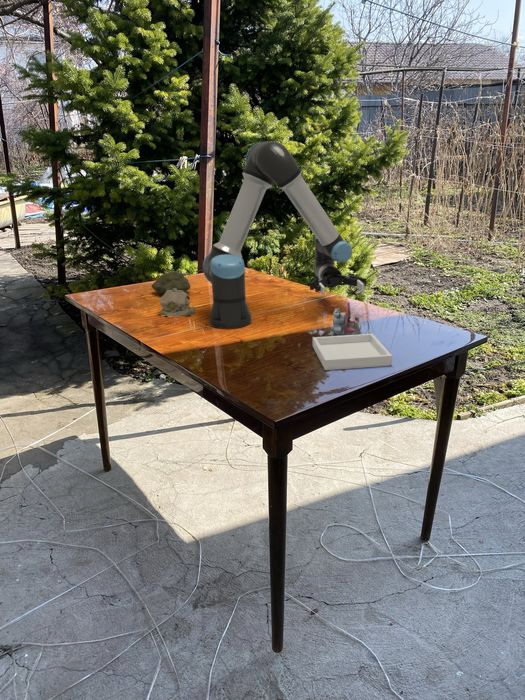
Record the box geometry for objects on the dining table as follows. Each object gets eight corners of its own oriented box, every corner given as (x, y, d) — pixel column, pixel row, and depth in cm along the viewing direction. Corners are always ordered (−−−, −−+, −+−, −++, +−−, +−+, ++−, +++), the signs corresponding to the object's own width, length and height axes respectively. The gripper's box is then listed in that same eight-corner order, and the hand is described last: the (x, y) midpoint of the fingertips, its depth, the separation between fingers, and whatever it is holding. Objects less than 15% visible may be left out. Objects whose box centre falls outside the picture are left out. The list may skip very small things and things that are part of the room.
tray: (325, 370, 147) (325, 360, 146) (312, 346, 164) (312, 337, 163) (391, 365, 148) (392, 355, 147) (372, 342, 166) (372, 333, 165)
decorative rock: (162, 300, 221) (159, 277, 217) (149, 292, 234) (147, 270, 230) (194, 294, 228) (193, 272, 224) (181, 287, 241) (179, 265, 237)
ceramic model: (154, 317, 199) (151, 291, 196) (166, 308, 210) (163, 284, 206) (189, 318, 196) (187, 292, 193) (199, 310, 206) (197, 285, 203)
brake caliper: (367, 333, 167) (344, 303, 165) (339, 351, 171) (317, 322, 170) (369, 322, 177) (348, 294, 176) (342, 339, 182) (321, 312, 180)
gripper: (362, 282, 201) (379, 297, 181) (297, 287, 199) (307, 303, 179) (362, 263, 198) (379, 276, 178) (297, 268, 196) (306, 281, 177)
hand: (343, 289), depth 179 cm, fingers open, 13 cm apart
